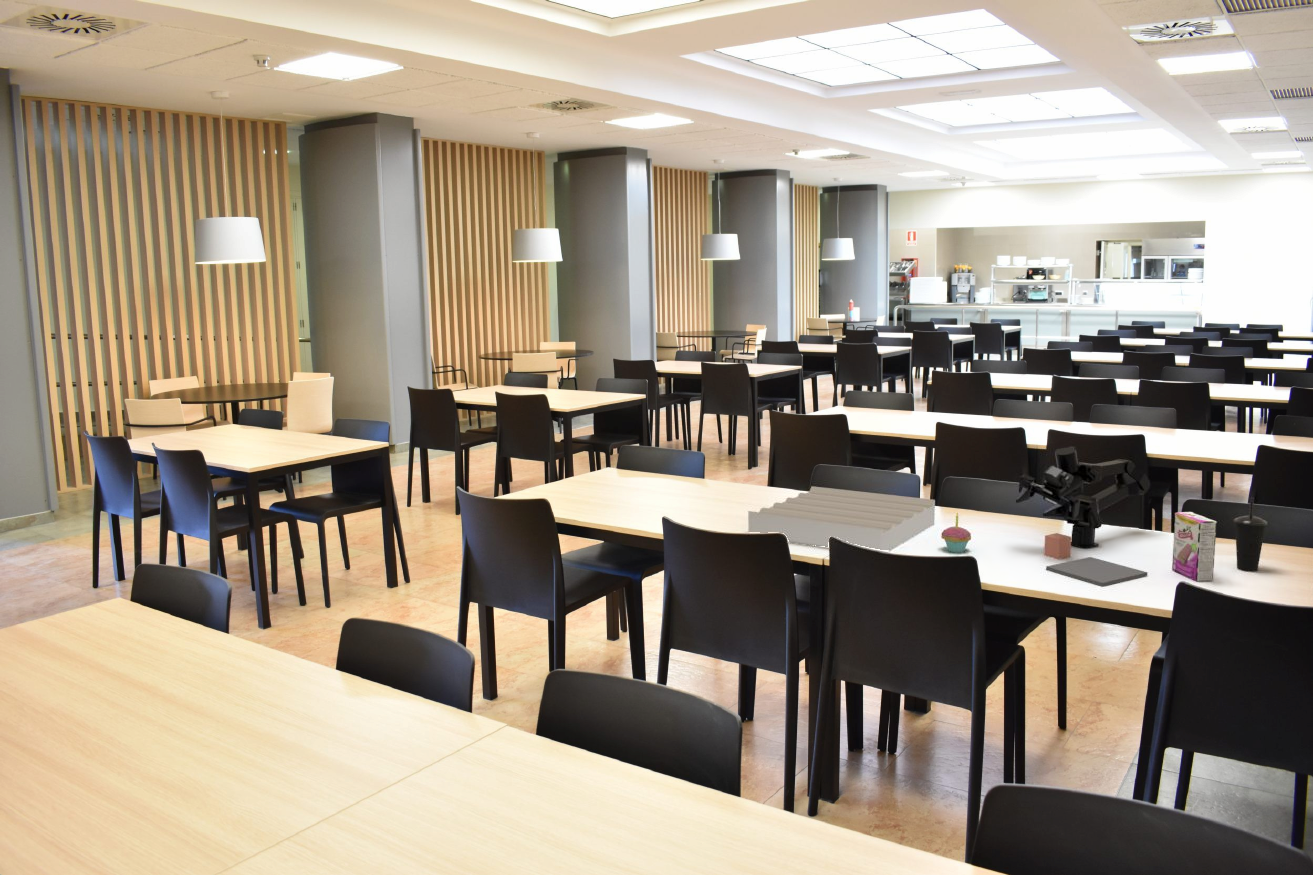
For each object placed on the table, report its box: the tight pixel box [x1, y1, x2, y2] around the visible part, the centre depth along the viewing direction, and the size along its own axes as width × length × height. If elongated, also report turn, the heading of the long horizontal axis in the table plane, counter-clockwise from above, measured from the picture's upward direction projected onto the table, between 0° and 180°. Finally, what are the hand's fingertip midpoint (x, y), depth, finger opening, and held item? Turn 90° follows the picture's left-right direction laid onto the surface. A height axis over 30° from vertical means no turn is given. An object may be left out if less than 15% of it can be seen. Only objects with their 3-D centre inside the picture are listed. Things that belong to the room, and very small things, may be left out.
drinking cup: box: [1233, 497, 1268, 572], centre depth 266 cm, size 8×8×20 cm
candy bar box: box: [1171, 511, 1218, 583], centre depth 261 cm, size 11×5×16 cm, turn 5°
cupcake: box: [940, 512, 972, 553], centre depth 291 cm, size 9×8×12 cm
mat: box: [1045, 556, 1148, 587], centre depth 267 cm, size 18×18×1 cm
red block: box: [1043, 532, 1072, 560], centre depth 284 cm, size 5×5×6 cm
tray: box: [747, 485, 936, 552], centre depth 318 cm, size 45×45×9 cm
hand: (1029, 507), depth 280 cm, fingers open, 9 cm apart
